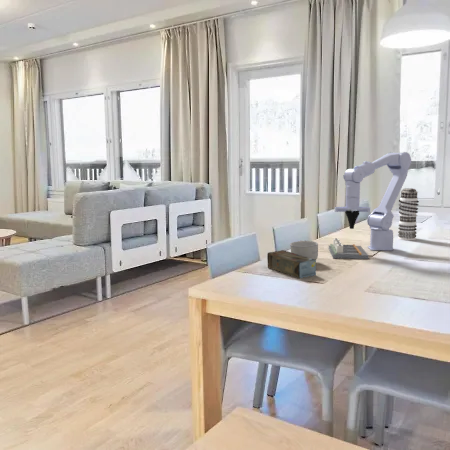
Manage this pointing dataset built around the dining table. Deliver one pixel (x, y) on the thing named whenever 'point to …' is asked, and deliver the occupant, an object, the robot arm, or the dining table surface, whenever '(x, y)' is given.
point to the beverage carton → (291, 263)
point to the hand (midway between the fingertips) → (351, 228)
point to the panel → (349, 252)
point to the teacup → (305, 248)
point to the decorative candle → (408, 214)
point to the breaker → (334, 241)
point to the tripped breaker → (339, 248)
